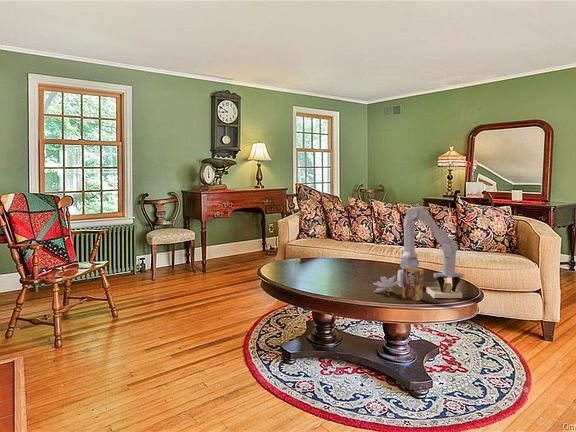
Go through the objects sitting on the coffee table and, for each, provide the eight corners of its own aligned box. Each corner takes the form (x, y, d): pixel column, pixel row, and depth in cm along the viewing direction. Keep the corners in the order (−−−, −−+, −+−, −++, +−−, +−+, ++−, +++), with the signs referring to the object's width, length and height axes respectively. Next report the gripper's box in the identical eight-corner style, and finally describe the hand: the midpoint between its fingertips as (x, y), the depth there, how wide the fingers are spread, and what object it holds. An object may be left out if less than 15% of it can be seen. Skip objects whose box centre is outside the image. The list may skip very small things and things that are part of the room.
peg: (445, 295, 215) (446, 284, 214) (443, 294, 218) (443, 282, 218) (451, 296, 215) (452, 284, 214) (449, 294, 218) (449, 282, 218)
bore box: (434, 298, 210) (434, 293, 210) (426, 291, 222) (426, 286, 222) (462, 298, 211) (462, 293, 210) (452, 291, 222) (452, 287, 222)
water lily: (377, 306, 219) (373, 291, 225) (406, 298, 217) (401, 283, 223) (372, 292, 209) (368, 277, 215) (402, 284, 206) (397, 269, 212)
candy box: (422, 299, 209) (424, 269, 207) (418, 301, 206) (419, 270, 204) (405, 295, 215) (407, 266, 213) (401, 297, 212) (403, 267, 210)
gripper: (437, 266, 211) (436, 293, 212) (466, 267, 211) (465, 293, 212) (432, 263, 218) (431, 289, 219) (460, 264, 218) (459, 289, 219)
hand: (447, 291), depth 216 cm, fingers open, 5 cm apart
